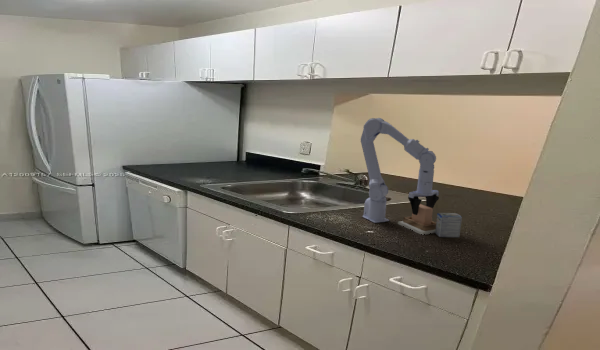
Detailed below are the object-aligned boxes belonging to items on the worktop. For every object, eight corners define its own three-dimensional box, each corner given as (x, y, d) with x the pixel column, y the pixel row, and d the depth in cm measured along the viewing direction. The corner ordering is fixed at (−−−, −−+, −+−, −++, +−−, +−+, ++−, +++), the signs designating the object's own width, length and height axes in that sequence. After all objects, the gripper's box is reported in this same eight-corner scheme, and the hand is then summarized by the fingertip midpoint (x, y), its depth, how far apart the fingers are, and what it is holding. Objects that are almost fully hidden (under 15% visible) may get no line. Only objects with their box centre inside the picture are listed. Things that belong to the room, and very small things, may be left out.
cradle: (397, 223, 149) (398, 217, 149) (418, 220, 155) (419, 214, 154) (422, 234, 137) (423, 227, 137) (444, 231, 142) (445, 224, 142)
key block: (423, 228, 142) (425, 209, 140) (411, 223, 148) (412, 204, 146) (430, 227, 144) (432, 208, 142) (418, 222, 150) (420, 204, 148)
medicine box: (454, 233, 140) (456, 212, 138) (459, 237, 136) (462, 216, 134) (434, 233, 140) (437, 212, 138) (439, 237, 135) (442, 215, 134)
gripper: (419, 184, 136) (415, 218, 138) (446, 182, 142) (442, 214, 145) (406, 180, 142) (403, 212, 144) (432, 178, 148) (429, 209, 151)
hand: (421, 213), depth 145 cm, fingers open, 7 cm apart
